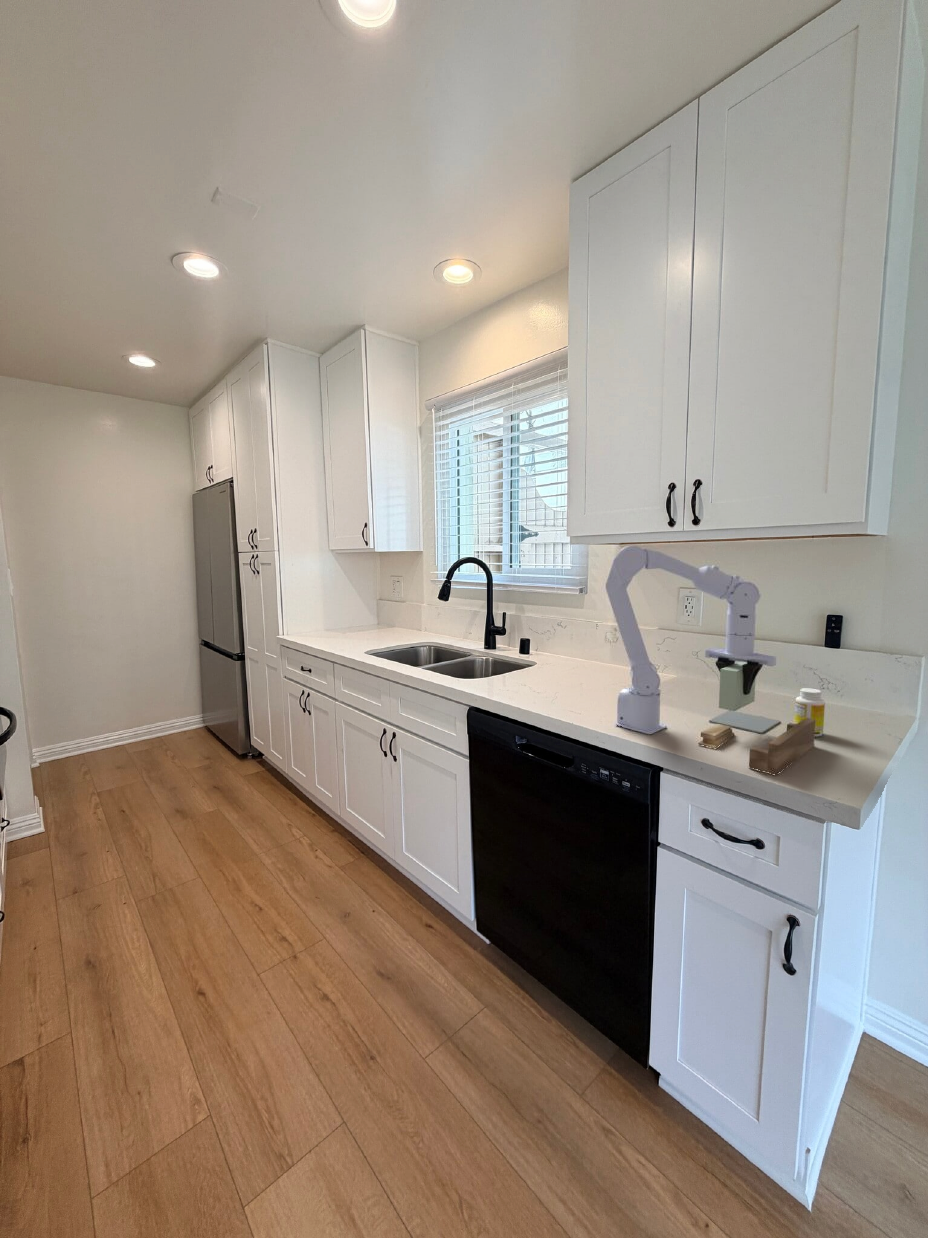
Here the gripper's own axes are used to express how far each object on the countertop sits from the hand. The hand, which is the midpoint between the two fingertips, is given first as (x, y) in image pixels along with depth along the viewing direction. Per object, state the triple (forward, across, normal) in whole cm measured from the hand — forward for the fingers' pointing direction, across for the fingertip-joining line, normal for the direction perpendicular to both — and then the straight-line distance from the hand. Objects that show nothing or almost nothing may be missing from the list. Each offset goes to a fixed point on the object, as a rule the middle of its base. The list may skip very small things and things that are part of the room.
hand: (737, 692), depth 117 cm
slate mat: (+10, +2, -10) cm, 14 cm away
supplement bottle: (+10, -11, -12) cm, 19 cm away
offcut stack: (+10, +1, +7) cm, 13 cm away
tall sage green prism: (+3, 0, 0) cm, 3 cm away
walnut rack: (+10, -12, +7) cm, 17 cm away
